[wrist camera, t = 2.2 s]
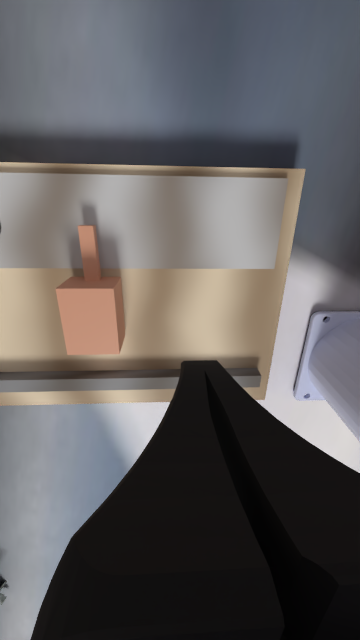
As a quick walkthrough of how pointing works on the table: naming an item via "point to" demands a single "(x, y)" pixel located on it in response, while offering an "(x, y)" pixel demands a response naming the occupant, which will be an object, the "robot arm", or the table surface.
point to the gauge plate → (143, 274)
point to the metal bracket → (2, 595)
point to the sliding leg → (91, 304)
